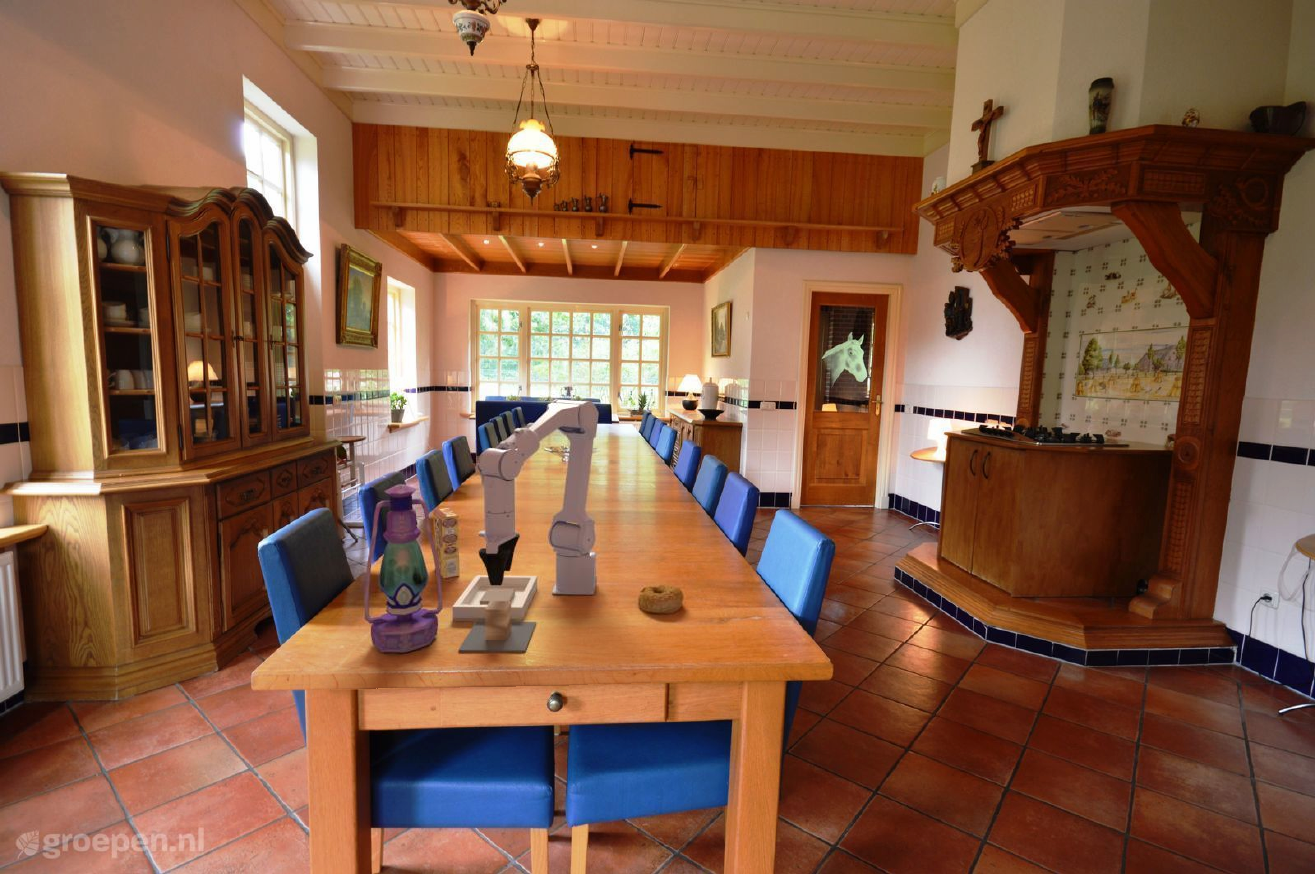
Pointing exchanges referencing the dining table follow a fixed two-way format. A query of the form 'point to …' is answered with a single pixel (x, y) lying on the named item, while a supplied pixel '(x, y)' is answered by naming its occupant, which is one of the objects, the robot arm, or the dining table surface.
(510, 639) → the rubber mat
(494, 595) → the tray
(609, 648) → the dining table surface
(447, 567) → the candy box
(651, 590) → the bagel
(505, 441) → the robot arm
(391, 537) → the lantern
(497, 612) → the maple block
